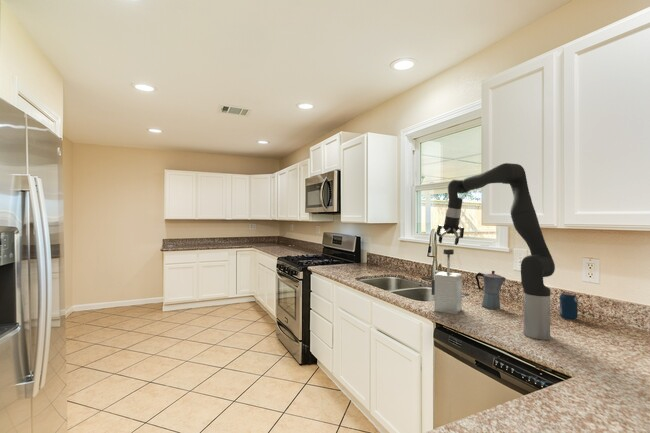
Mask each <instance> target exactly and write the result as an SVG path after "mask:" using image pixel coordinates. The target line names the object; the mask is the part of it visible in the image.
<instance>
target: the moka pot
mask: <svg viewBox="0 0 650 433" xmlns="http://www.w3.org/2000/svg"><path fill="white" fill-rule="evenodd" d="M495 272H496V271H495V270H491V273H484V272H483V273H482V272H477V274H476V275H475V276H474V277H475V281H476V284H477V288H478V290H481V291H484V293H483V296H482V297H483V298H482V302H481V306H482V307H484V308H485V309H490V310H499V309H501V302H500V299H501V298H500V291H501V289H502V285H503V284H504V282H505V280H507V278H506V277H505V276H502V275H500V274H497V273H496V274H495ZM479 277H482V279H483V287H481V285H480V281H479Z"/></svg>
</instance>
